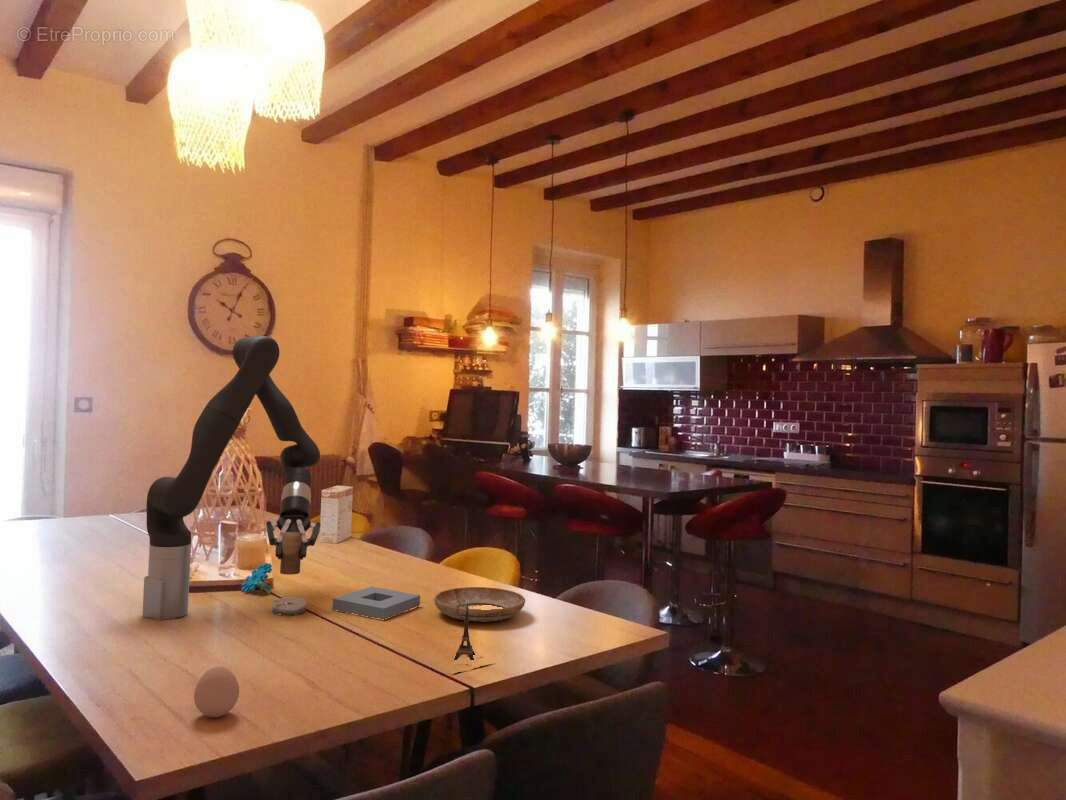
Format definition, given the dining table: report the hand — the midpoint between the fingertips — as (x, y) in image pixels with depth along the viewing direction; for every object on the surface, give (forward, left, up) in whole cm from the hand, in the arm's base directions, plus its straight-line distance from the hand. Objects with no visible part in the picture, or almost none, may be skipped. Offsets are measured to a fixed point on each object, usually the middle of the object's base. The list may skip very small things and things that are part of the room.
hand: (290, 557), depth 198 cm
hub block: (+17, -15, -14) cm, 26 cm away
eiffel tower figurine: (-6, -55, -15) cm, 57 cm away
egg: (-53, -34, -14) cm, 65 cm away
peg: (+1, +1, -4) cm, 5 cm away
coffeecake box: (+83, +55, -14) cm, 101 cm away
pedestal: (+2, +1, -14) cm, 14 cm away
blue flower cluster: (+11, +22, -14) cm, 28 cm away
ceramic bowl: (+27, -40, -14) cm, 50 cm away
